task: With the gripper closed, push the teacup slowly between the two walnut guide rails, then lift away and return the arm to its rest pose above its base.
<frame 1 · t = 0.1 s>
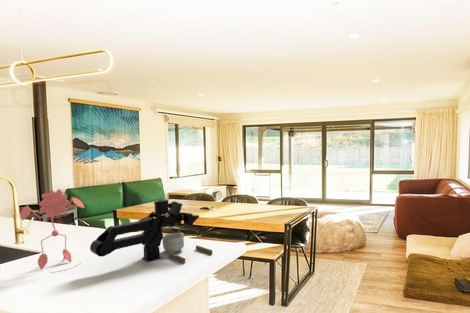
hand: (193, 215, 180), 17 cm above the counter, tool horizontal, fingers open, 9 cm apart
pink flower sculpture: (57, 267, 155), on the counter
guide rails: (190, 255, 166), on the counter
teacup: (175, 250, 175), on the counter
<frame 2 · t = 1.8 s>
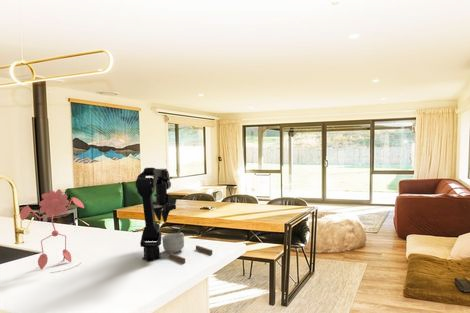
hand: (162, 221, 183), 13 cm above the counter, tool pointing down, fingers open, 5 cm apart
nothing on the counter moved.
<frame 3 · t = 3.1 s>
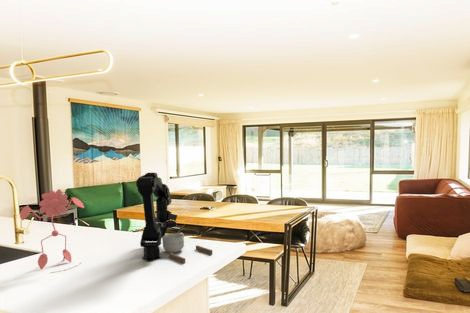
hand: (162, 238, 184), 4 cm above the counter, tool pointing down, fingers closed
nothing on the counter moved.
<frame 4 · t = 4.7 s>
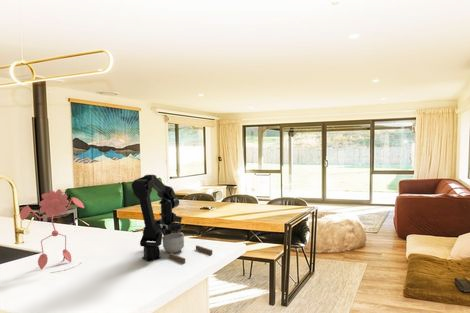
hand: (167, 240, 180), 3 cm above the counter, tool pointing down, fingers closed
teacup: (175, 250, 175), on the counter, touching gripper
everything else where it was.
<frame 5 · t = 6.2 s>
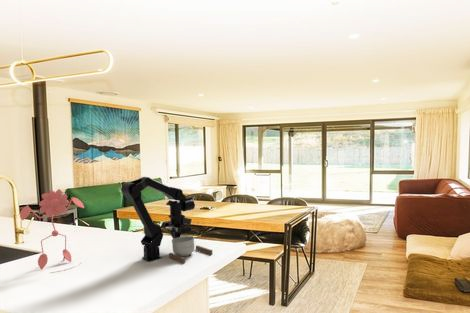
hand: (176, 243, 174), 4 cm above the counter, tool pointing down, fingers closed
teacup: (185, 254, 169), on the counter, touching gripper
everything else where it was.
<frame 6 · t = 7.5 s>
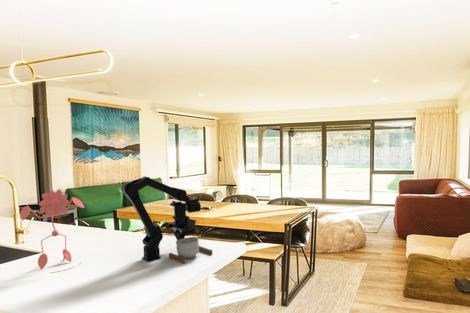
hand: (181, 245, 171), 4 cm above the counter, tool pointing down, fingers closed
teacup: (190, 255, 166), on the counter, touching gripper
everything else where it was.
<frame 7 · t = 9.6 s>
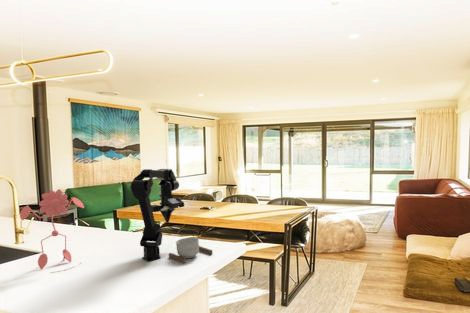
hand: (167, 222, 180), 13 cm above the counter, tool pointing down, fingers closed
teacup: (190, 256, 166), on the counter
everything else where it was.
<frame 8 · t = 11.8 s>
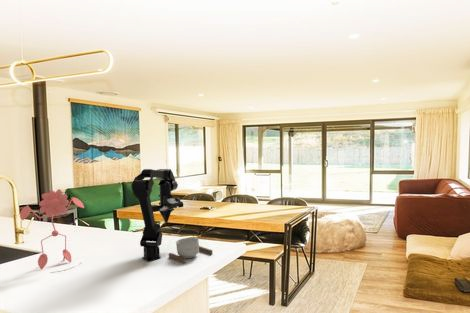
hand: (166, 222, 180), 13 cm above the counter, tool pointing down, fingers closed
nothing on the counter moved.
at the end: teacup inside the target area (0.7 cm from its centre), on the counter; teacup tilted 0°; the gripper is holding nothing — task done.
